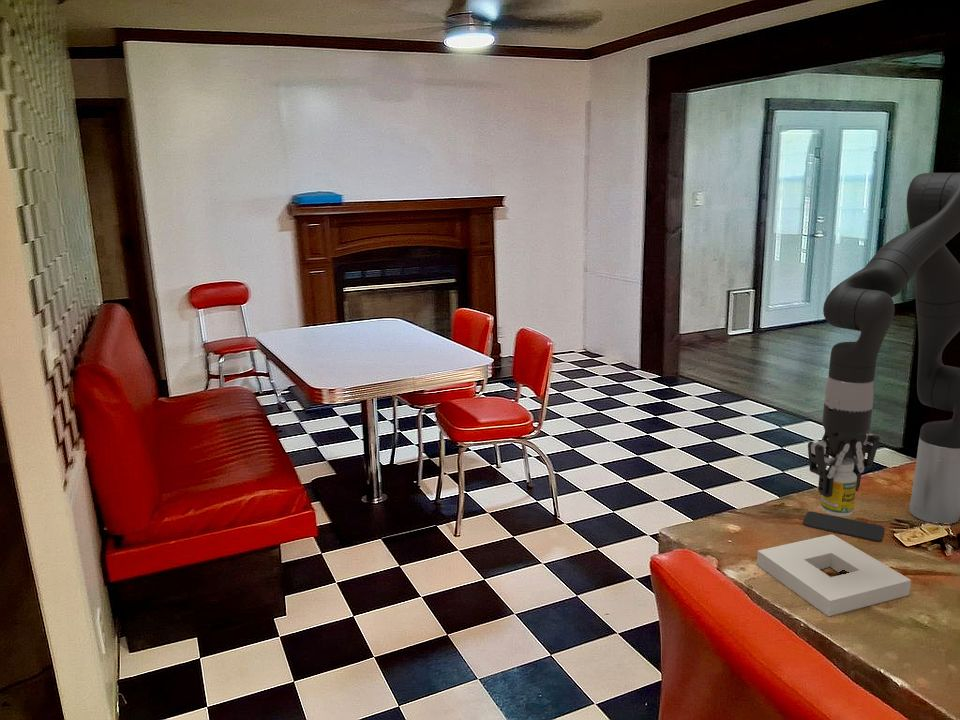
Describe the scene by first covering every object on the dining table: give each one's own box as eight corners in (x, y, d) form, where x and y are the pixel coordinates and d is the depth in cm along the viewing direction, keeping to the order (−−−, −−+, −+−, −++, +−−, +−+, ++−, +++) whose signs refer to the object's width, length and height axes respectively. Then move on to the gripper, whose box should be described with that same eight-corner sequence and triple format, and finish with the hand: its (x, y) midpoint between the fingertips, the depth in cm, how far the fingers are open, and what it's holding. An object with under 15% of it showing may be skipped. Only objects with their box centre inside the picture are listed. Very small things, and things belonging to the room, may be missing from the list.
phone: (807, 510, 160) (885, 526, 152) (807, 513, 160) (884, 529, 152) (801, 524, 154) (881, 541, 146) (801, 527, 154) (881, 544, 146)
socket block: (830, 547, 144) (832, 534, 144) (909, 595, 128) (911, 580, 127) (756, 564, 139) (757, 550, 138) (828, 616, 122) (830, 600, 122)
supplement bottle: (831, 501, 134) (836, 452, 131) (859, 511, 129) (865, 461, 127) (814, 508, 131) (819, 459, 129) (842, 519, 127) (847, 469, 124)
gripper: (863, 392, 131) (853, 478, 135) (798, 401, 126) (790, 490, 131) (898, 404, 124) (887, 494, 128) (831, 414, 120) (821, 508, 124)
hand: (838, 492), depth 129 cm, fingers closed on supplement bottle, 5 cm apart
